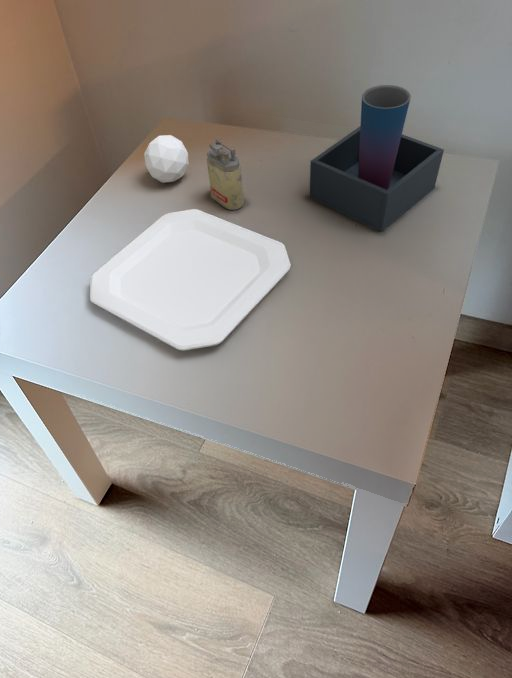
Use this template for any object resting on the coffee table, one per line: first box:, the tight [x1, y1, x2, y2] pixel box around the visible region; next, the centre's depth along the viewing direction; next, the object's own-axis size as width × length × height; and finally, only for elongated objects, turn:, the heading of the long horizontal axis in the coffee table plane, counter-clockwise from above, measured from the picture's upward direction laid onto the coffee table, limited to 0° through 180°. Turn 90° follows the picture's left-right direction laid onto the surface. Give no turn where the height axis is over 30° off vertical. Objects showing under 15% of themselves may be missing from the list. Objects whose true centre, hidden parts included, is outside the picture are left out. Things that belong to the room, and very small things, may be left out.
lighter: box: [206, 138, 245, 211], centre depth 89 cm, size 7×4×10 cm, turn 37°
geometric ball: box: [143, 134, 190, 184], centre depth 95 cm, size 8×8×8 cm
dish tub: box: [308, 125, 445, 233], centre depth 87 cm, size 15×15×7 cm
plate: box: [89, 208, 292, 352], centre depth 80 cm, size 25×25×2 cm
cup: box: [358, 84, 412, 190], centre depth 83 cm, size 7×7×15 cm
